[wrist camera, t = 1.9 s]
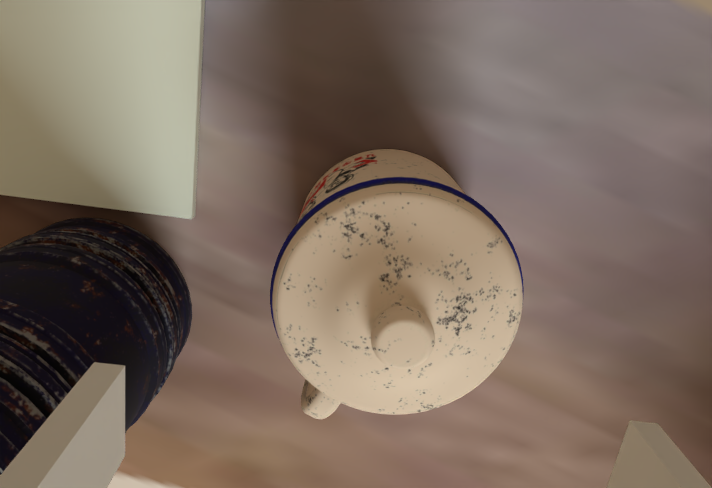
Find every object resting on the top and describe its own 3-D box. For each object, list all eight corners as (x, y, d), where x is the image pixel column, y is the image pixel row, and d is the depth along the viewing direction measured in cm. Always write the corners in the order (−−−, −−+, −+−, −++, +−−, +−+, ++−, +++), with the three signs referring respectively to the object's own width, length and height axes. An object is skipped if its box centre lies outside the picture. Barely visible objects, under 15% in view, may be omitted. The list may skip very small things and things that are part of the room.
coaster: (209, -103, 23) (206, -107, 23) (195, 215, 28) (191, 219, 27) (-133, -155, 23) (-146, -161, 22) (-93, 179, 27) (-103, 181, 26)
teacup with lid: (347, 108, 26) (341, 142, 15) (509, 197, 27) (614, 288, 16) (241, 313, 29) (172, 465, 18) (391, 383, 31) (411, 564, 20)
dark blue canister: (78, 174, 27) (-227, 298, 13) (233, 303, 29) (117, 532, 15) (-33, 308, 29) (-398, 540, 15) (119, 418, 31) (-76, 713, 17)
